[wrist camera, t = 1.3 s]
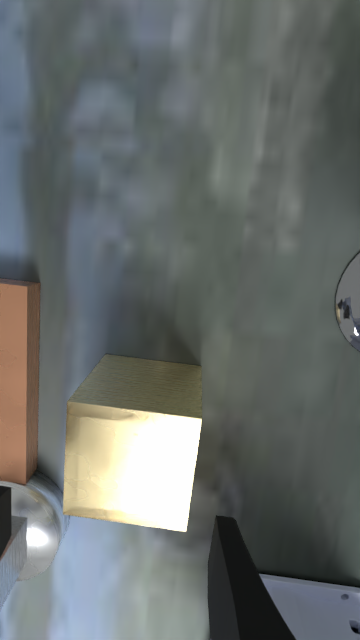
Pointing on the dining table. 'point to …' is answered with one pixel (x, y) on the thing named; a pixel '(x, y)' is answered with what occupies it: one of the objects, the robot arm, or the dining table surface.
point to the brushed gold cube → (133, 442)
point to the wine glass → (349, 303)
